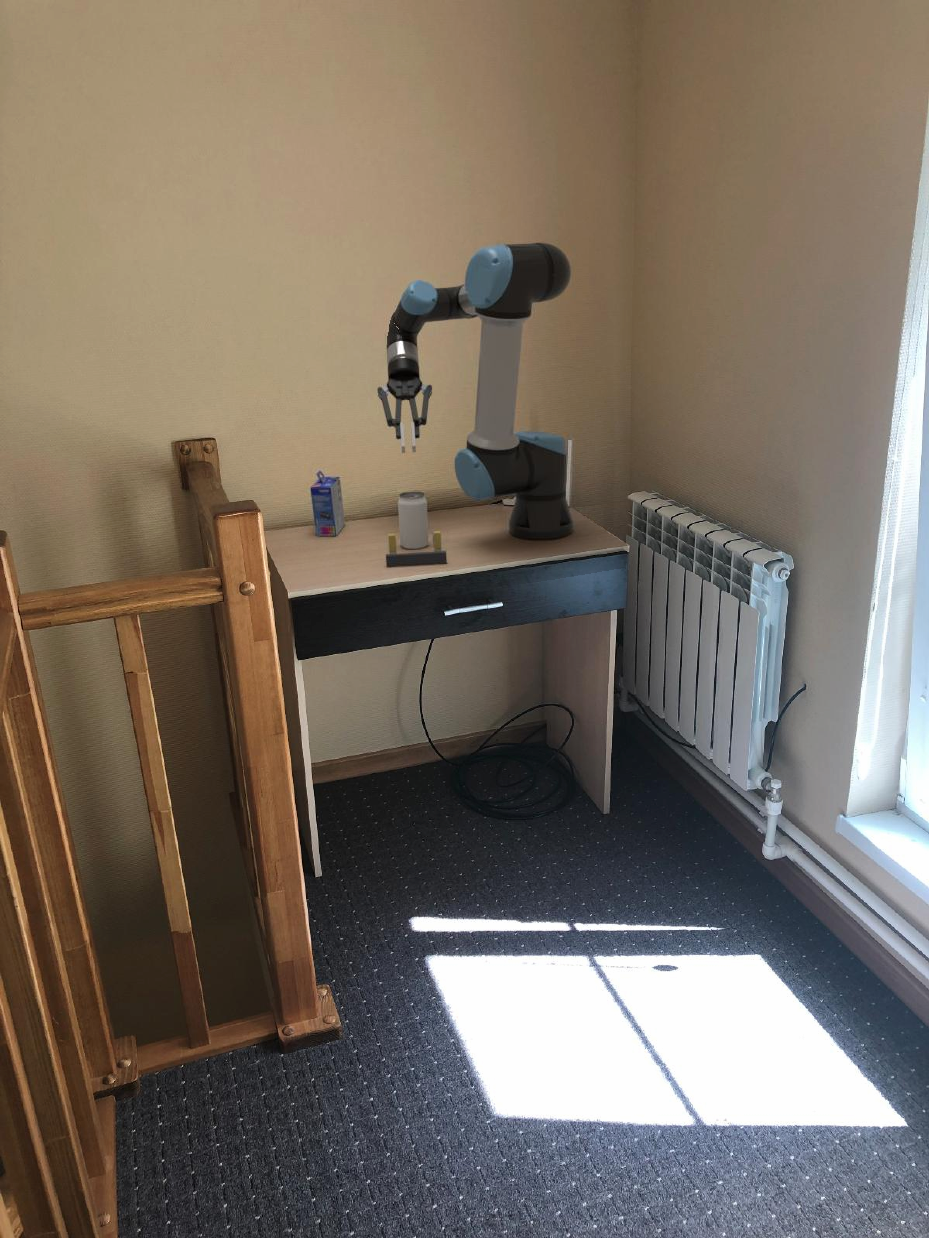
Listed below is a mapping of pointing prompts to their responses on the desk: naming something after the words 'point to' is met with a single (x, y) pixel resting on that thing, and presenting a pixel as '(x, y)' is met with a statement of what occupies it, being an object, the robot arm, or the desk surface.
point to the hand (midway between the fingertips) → (408, 449)
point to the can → (413, 520)
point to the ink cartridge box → (327, 505)
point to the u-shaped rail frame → (416, 554)
